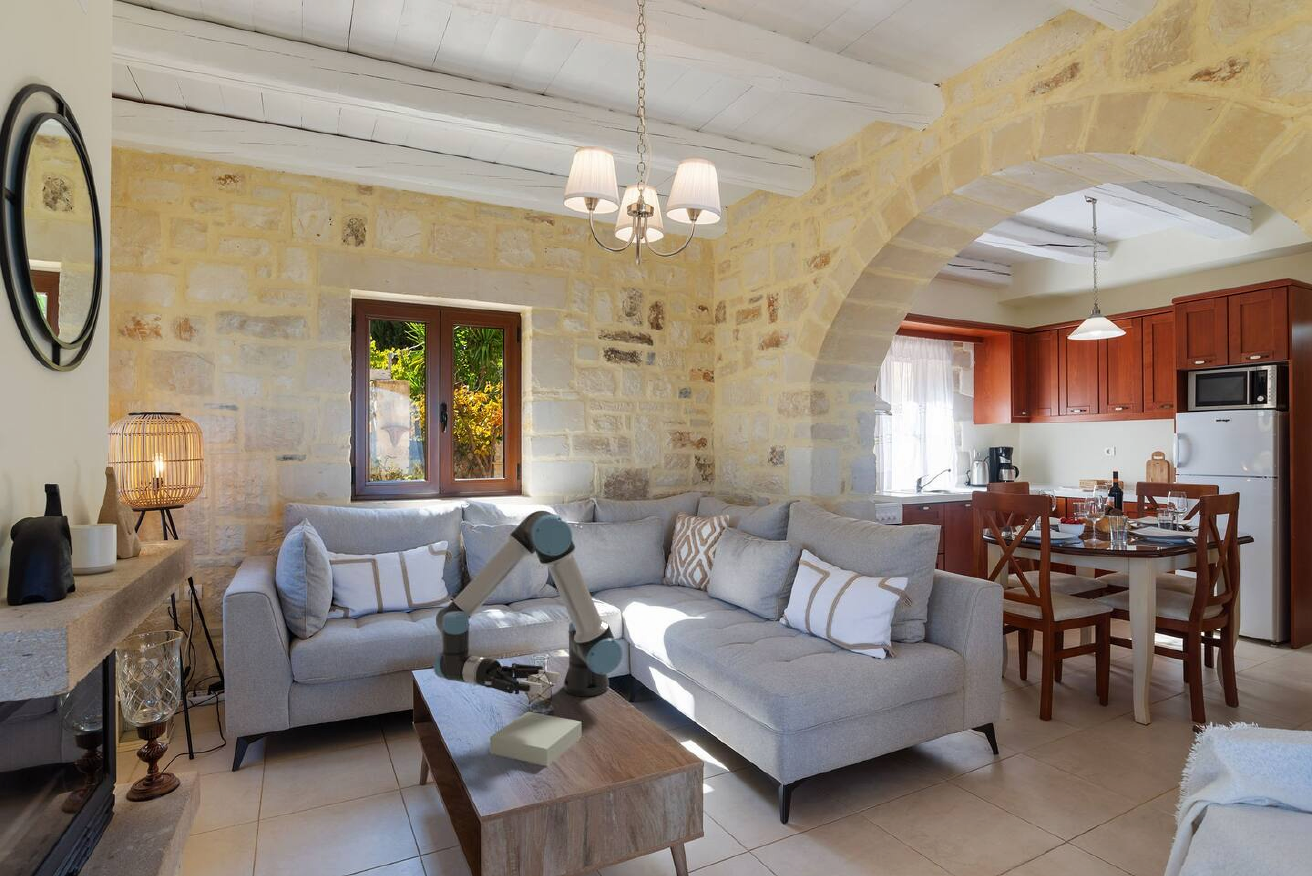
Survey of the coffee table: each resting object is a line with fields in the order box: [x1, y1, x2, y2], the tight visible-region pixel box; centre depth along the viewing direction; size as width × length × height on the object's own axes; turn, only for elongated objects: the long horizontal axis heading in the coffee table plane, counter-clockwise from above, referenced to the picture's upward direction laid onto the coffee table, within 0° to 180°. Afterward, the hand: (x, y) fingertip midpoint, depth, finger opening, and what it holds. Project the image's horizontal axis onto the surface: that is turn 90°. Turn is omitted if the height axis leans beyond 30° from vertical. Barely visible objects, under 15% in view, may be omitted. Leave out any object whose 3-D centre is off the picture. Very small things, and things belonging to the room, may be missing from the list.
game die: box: [524, 670, 555, 706], centre depth 194 cm, size 9×8×10 cm
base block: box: [489, 711, 583, 767], centre depth 194 cm, size 18×18×5 cm
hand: (550, 683), depth 191 cm, fingers closed on game die, 8 cm apart
